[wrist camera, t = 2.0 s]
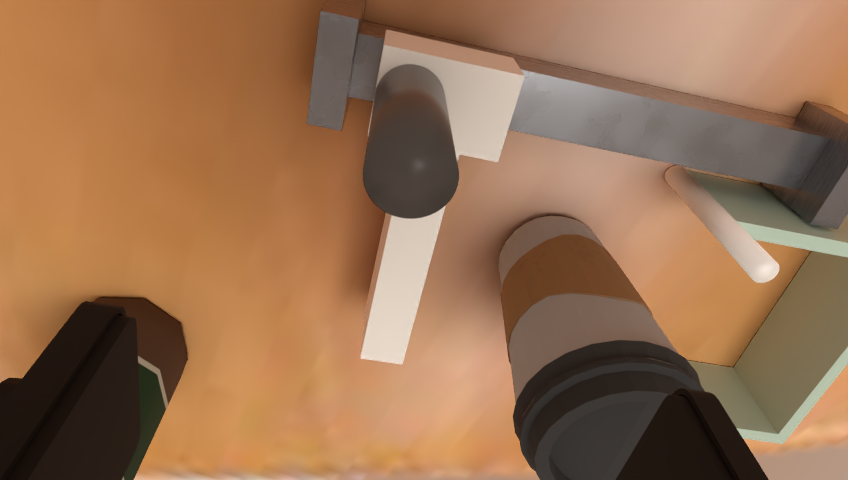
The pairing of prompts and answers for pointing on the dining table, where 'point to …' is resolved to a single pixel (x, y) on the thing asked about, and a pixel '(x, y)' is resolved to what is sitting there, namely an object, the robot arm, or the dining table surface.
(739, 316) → the dining table surface
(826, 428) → the dining table surface
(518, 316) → the coffee cup
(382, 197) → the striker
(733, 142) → the rail
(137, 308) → the beer bottle
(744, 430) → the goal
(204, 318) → the dining table surface
